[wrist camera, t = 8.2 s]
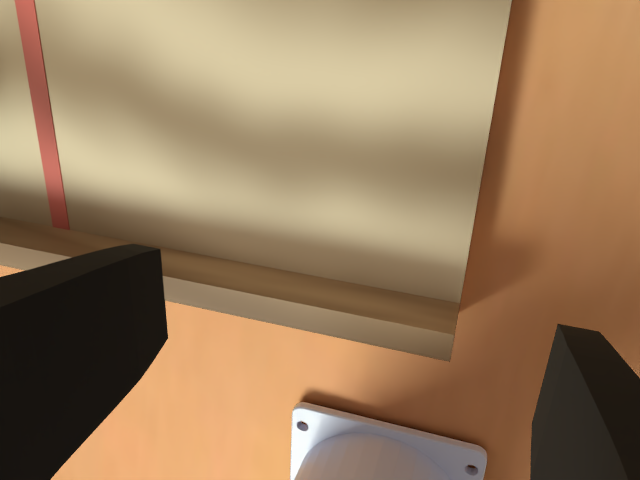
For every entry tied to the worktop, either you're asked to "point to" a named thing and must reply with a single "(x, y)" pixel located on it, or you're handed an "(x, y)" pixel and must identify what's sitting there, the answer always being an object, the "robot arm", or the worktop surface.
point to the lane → (257, 151)
